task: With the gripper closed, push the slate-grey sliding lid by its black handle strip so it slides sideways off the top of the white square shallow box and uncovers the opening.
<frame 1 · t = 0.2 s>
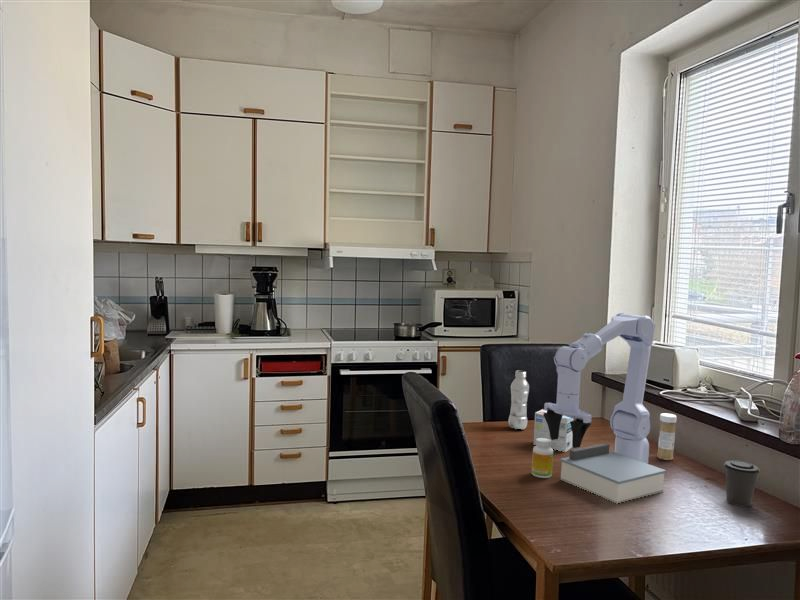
hand: (565, 443, 163), 10 cm above the table, tool pointing down, fingers open, 7 cm apart
supplement bottle: (541, 475, 167), on the table
white square shallow box: (610, 485, 161), on the table
light bulb box: (552, 447, 193), on the table
plastic bottle: (517, 429, 212), on the table
coffee cup: (738, 502, 154), on the table
lid: (612, 461, 161), point 7 cm above the table, slide at 0.0 cm
sprinkles bottle: (665, 458, 187), on the table
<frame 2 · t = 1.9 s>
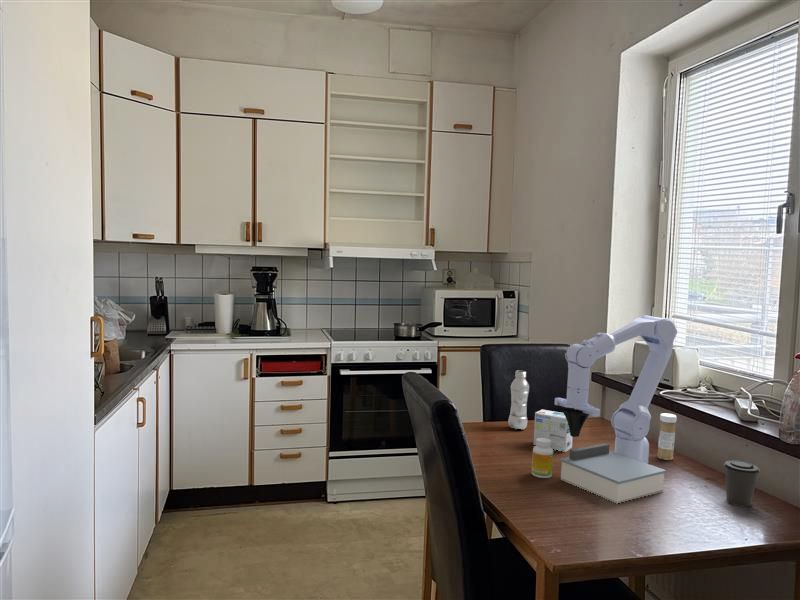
hand: (574, 436, 171), 10 cm above the table, tool pointing down, fingers closed
nothing on the table moved.
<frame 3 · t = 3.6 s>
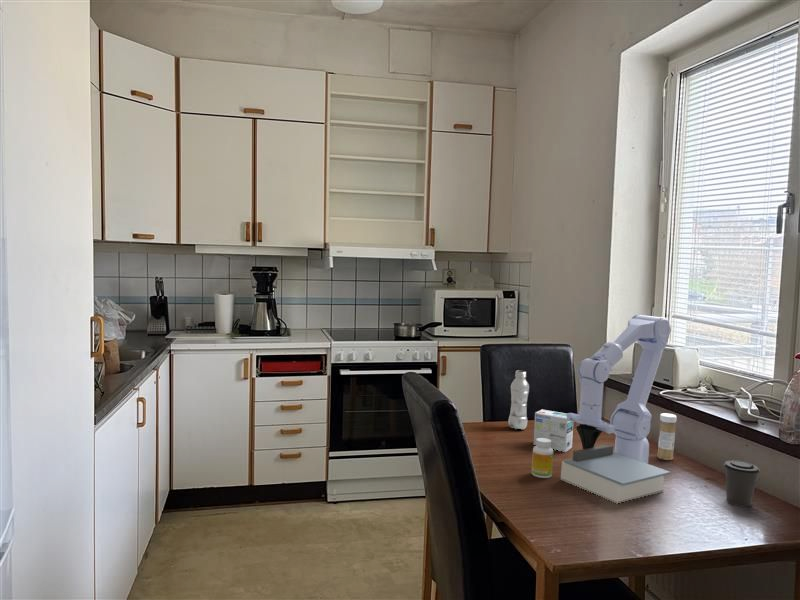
hand: (587, 452, 167), 6 cm above the table, tool pointing down, fingers closed
lid: (616, 462, 160), point 7 cm above the table, slide at 1.2 cm, touching gripper
everything else where it was.
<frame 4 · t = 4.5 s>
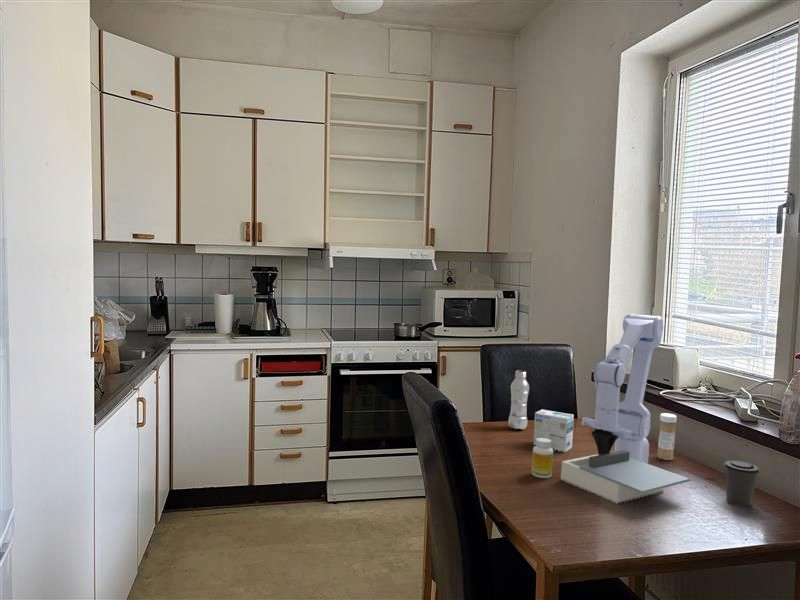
hand: (603, 458, 163), 6 cm above the table, tool pointing down, fingers closed
lid: (633, 468, 155), point 7 cm above the table, slide at 6.5 cm, touching gripper
everything else where it was.
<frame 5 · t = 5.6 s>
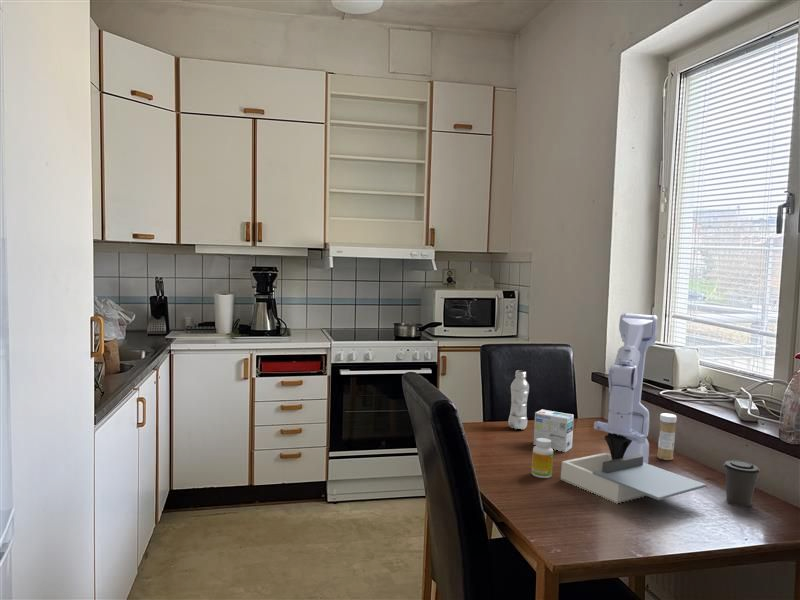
hand: (616, 463, 159), 6 cm above the table, tool pointing down, fingers closed
lid: (648, 474, 152), point 7 cm above the table, slide at 10.8 cm, touching gripper
everything else where it was.
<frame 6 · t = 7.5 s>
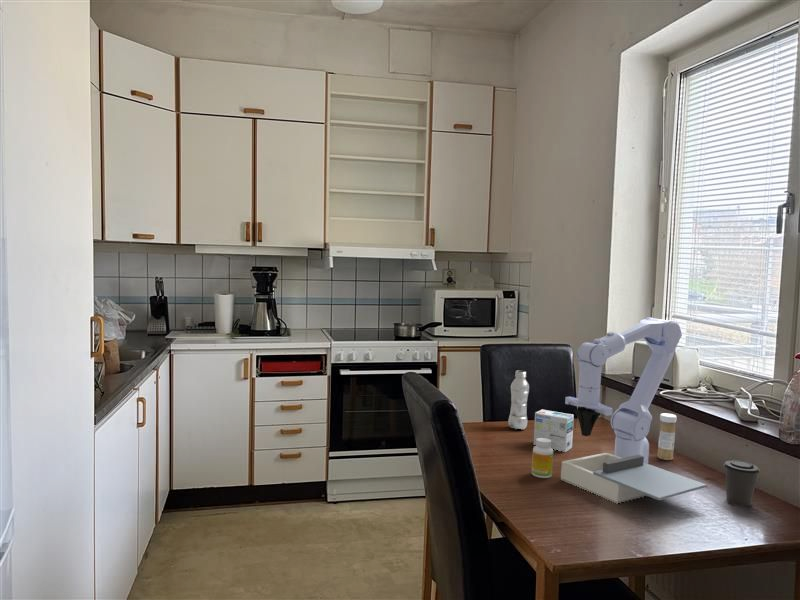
hand: (586, 435, 170), 10 cm above the table, tool pointing down, fingers closed
lid: (649, 474, 151), point 7 cm above the table, slide at 10.9 cm
everything else where it was.
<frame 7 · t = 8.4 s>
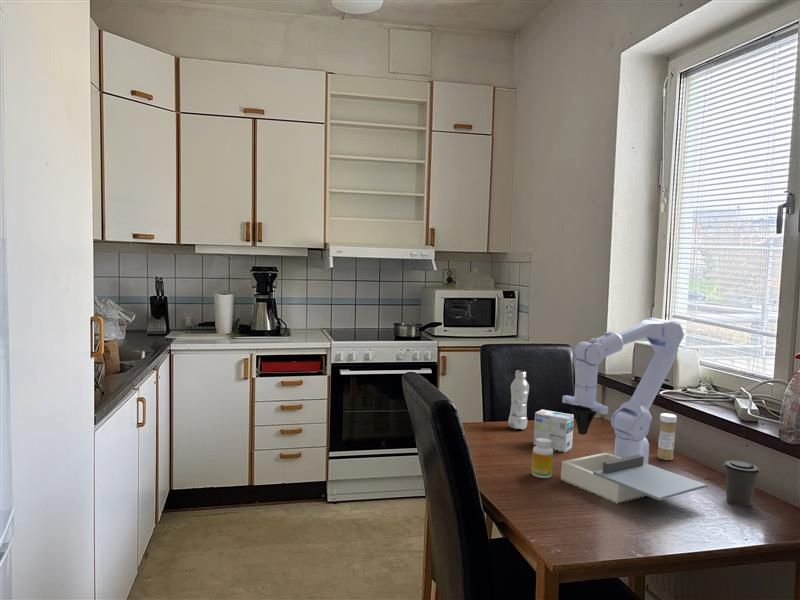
hand: (582, 433, 171), 10 cm above the table, tool pointing down, fingers closed
nothing on the table moved.
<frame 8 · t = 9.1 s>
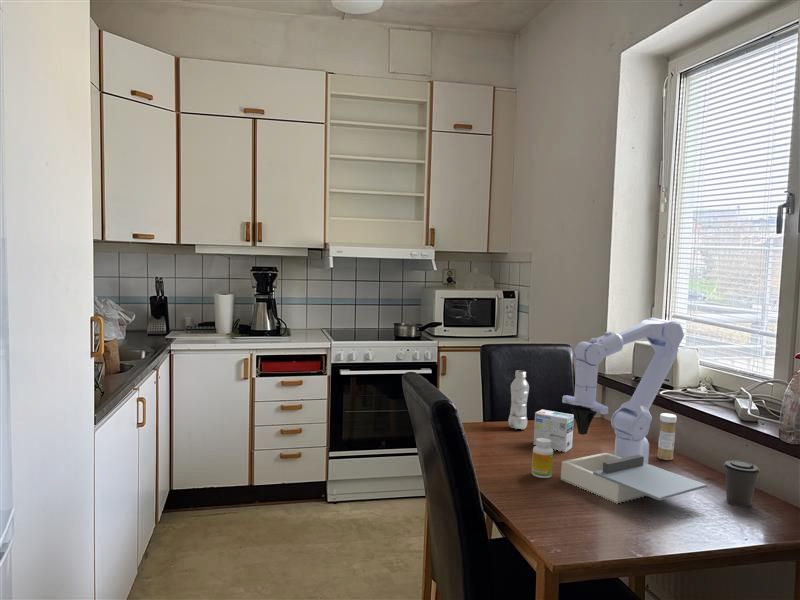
hand: (582, 433, 171), 10 cm above the table, tool pointing down, fingers closed
nothing on the table moved.
at the end: lid slide at 10.9 cm; supplement bottle moved 0.2 cm from its start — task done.
